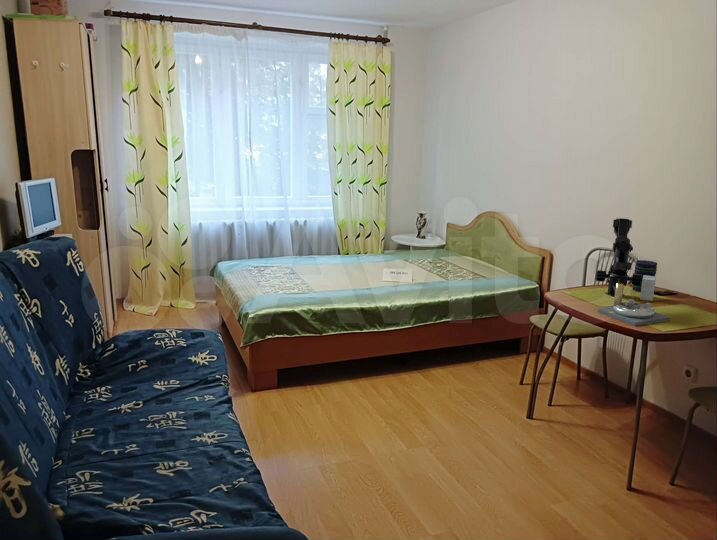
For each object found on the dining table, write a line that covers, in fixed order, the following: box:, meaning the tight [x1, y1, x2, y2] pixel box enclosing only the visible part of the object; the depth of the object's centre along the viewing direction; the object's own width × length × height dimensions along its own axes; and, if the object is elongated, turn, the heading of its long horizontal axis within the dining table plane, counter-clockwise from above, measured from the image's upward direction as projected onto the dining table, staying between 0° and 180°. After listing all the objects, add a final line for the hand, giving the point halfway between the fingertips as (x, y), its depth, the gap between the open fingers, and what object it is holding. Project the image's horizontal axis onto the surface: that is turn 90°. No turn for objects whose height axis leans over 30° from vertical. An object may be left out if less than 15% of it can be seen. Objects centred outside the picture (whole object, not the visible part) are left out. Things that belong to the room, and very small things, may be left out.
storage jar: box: [632, 259, 658, 293], centre depth 269 cm, size 10×10×15 cm
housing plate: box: [597, 306, 671, 327], centre depth 230 cm, size 20×20×2 cm
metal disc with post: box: [612, 283, 656, 318], centre depth 229 cm, size 16×16×12 cm
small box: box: [639, 275, 657, 301], centre depth 256 cm, size 8×6×10 cm
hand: (616, 293), depth 233 cm, fingers closed, pressing on metal disc with post
